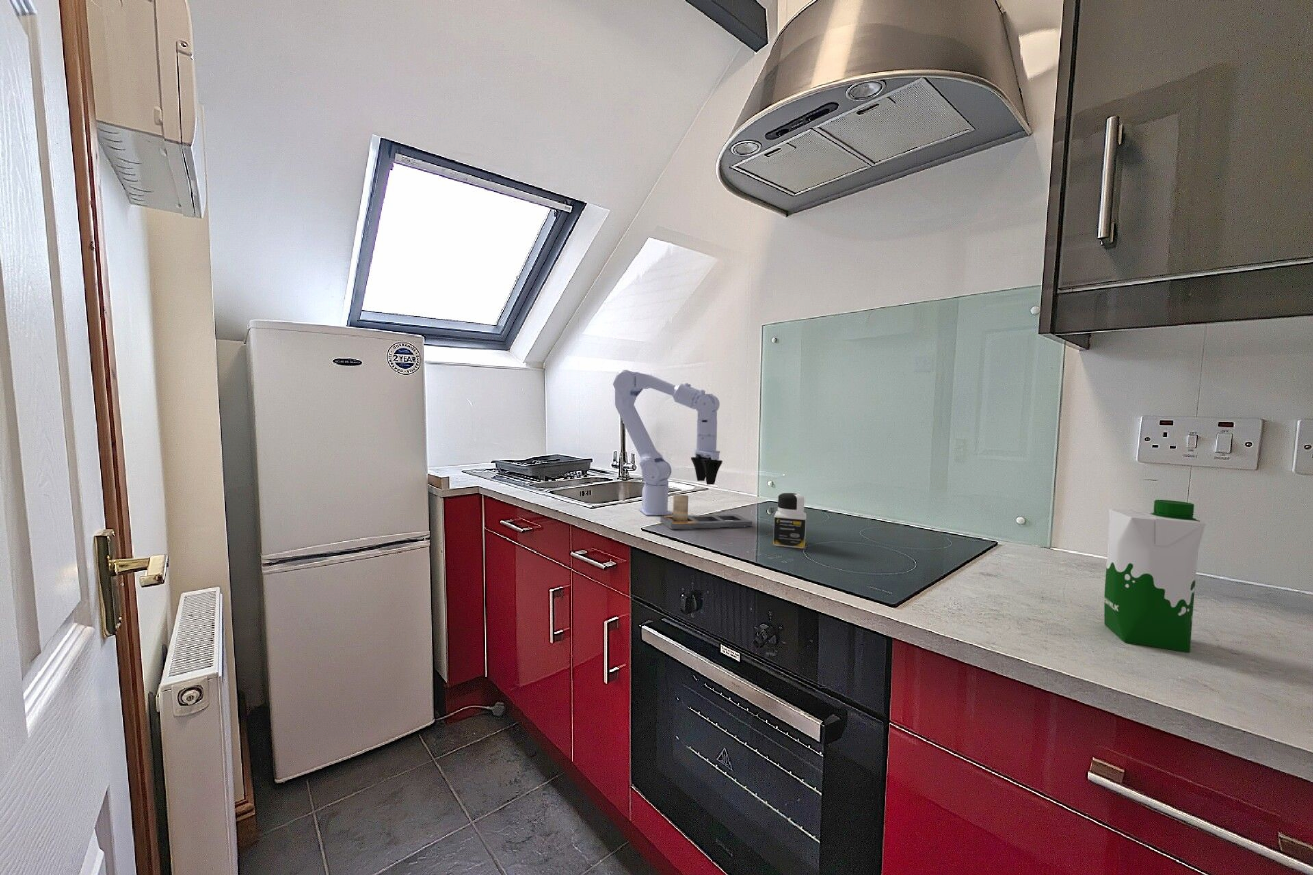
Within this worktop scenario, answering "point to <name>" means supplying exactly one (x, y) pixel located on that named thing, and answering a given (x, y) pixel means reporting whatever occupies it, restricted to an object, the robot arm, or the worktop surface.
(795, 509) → the medicine bottle
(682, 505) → the peg
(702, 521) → the gray compartment tray
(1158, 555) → the milk carton
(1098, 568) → the worktop surface
